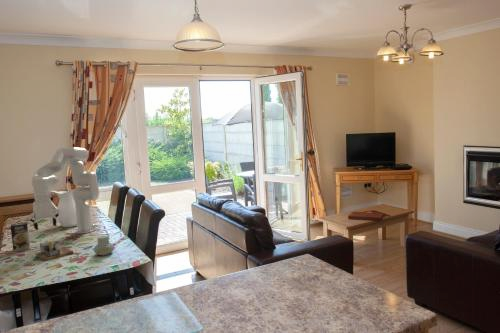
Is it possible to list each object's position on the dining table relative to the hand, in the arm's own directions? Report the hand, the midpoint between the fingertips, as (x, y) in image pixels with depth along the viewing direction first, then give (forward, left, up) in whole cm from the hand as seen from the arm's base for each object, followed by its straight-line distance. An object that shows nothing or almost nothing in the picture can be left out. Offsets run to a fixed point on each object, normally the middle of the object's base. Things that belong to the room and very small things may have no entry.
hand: (45, 227), depth 227 cm
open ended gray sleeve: (0, +4, -15) cm, 15 cm away
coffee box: (+8, -25, -16) cm, 31 cm away
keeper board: (-2, +5, -16) cm, 17 cm away
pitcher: (-31, -64, -16) cm, 73 cm away
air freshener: (-22, +28, -16) cm, 39 cm away
